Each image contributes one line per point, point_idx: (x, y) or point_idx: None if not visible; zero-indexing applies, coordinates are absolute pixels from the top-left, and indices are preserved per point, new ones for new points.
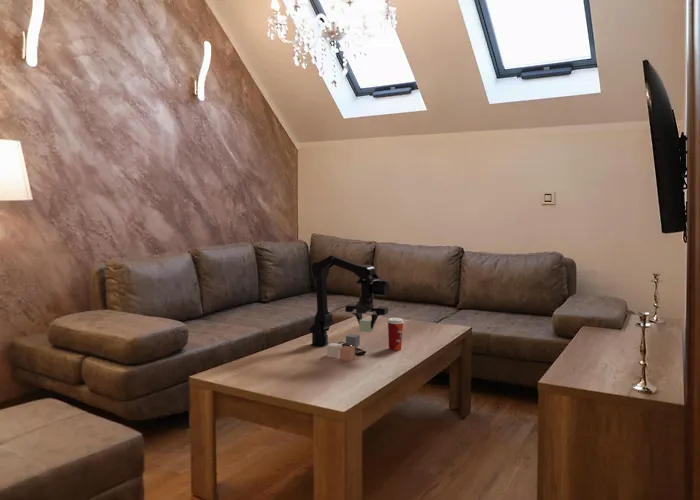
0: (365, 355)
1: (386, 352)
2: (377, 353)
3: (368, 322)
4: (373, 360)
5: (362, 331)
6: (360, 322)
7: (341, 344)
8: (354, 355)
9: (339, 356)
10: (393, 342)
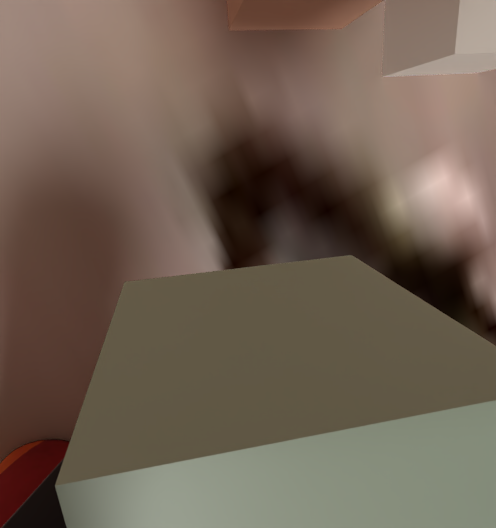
0: (177, 173)
1: (55, 359)
2: (110, 290)
3: (137, 422)
4: (5, 32)
5: (286, 264)
6: (452, 350)
7: (458, 34)
8: (232, 1)
9: (385, 5)
10: (5, 500)
